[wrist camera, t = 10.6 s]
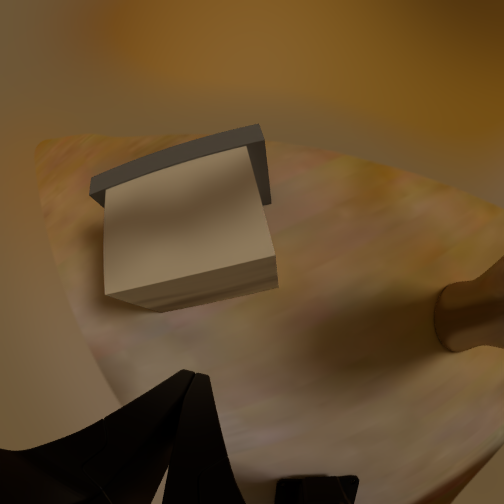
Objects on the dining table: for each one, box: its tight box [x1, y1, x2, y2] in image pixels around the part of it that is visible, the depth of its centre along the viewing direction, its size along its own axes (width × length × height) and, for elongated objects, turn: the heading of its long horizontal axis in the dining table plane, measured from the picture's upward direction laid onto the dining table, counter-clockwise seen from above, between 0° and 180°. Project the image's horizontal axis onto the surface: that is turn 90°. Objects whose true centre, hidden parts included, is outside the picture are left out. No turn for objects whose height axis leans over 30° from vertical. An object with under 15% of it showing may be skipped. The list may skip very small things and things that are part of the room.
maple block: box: [103, 146, 279, 313], centre depth 18 cm, size 7×10×8 cm
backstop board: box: [89, 124, 271, 208], centre depth 20 cm, size 2×12×8 cm, turn 102°
